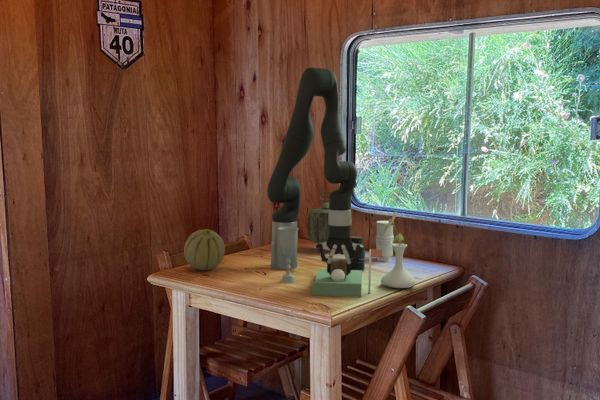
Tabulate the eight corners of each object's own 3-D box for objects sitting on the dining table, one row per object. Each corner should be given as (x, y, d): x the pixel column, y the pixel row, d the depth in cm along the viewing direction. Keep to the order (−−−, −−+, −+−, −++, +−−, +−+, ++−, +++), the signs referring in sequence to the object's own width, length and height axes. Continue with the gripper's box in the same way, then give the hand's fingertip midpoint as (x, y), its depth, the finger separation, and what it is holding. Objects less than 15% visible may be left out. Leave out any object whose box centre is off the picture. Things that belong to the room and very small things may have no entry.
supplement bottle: (363, 272, 217) (364, 239, 216) (344, 271, 219) (345, 238, 217) (365, 268, 224) (366, 235, 222) (347, 266, 225) (347, 235, 224)
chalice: (290, 285, 199) (291, 230, 197) (273, 282, 203) (273, 228, 200) (302, 280, 205) (303, 227, 203) (285, 277, 209) (286, 225, 207)
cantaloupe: (202, 263, 229) (201, 224, 227) (233, 268, 222) (233, 227, 220) (175, 271, 217) (174, 229, 215) (207, 276, 209) (206, 233, 207)
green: (312, 295, 188) (312, 282, 187) (318, 275, 212) (318, 264, 211) (361, 296, 186) (361, 284, 185) (361, 277, 210) (362, 265, 210)
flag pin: (368, 293, 190) (369, 249, 188) (368, 293, 190) (369, 249, 189) (380, 293, 189) (382, 249, 188) (380, 293, 190) (381, 249, 188)
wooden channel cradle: (330, 277, 195) (330, 262, 195) (331, 273, 201) (331, 258, 201) (346, 278, 195) (346, 263, 194) (346, 273, 201) (347, 258, 200)
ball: (331, 272, 196) (332, 285, 195) (329, 268, 193) (330, 281, 191) (344, 270, 196) (346, 283, 194) (343, 266, 192) (344, 279, 190)
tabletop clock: (345, 251, 253) (347, 191, 250) (335, 255, 246) (336, 193, 243) (316, 247, 261) (316, 189, 258) (304, 250, 253) (305, 191, 250)
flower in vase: (392, 280, 207) (394, 207, 204) (422, 285, 199) (424, 210, 196) (371, 287, 197) (373, 211, 194) (402, 294, 189) (404, 214, 186)
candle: (394, 261, 234) (395, 223, 232) (376, 261, 234) (377, 223, 233) (392, 257, 241) (393, 220, 239) (374, 257, 241) (375, 220, 239)
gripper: (316, 224, 193) (316, 276, 196) (361, 225, 192) (360, 278, 194) (318, 220, 201) (317, 271, 203) (362, 221, 199) (361, 272, 201)
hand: (338, 274), depth 198 cm, fingers closed on wooden channel cradle, 5 cm apart
